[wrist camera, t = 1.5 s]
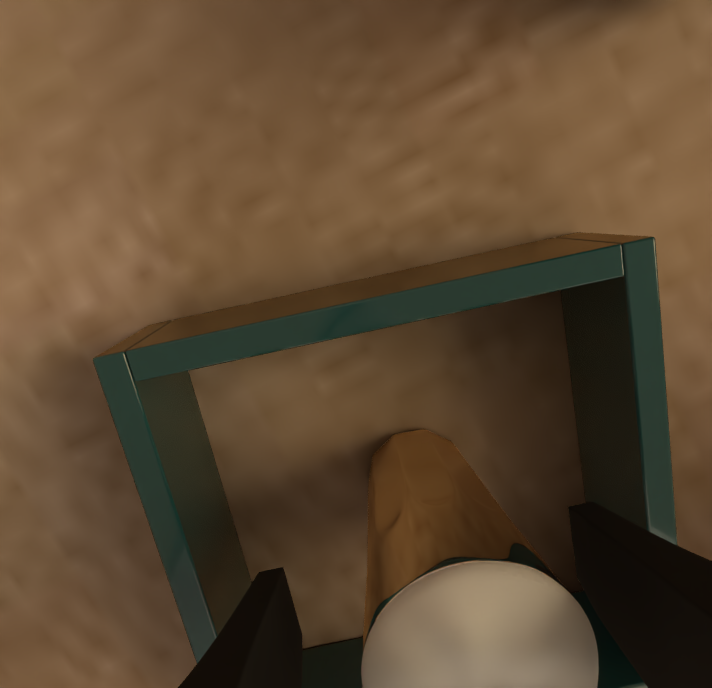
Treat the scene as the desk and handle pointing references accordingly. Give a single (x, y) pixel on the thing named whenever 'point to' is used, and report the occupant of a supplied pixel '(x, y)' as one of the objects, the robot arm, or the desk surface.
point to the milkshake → (460, 583)
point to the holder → (373, 312)
